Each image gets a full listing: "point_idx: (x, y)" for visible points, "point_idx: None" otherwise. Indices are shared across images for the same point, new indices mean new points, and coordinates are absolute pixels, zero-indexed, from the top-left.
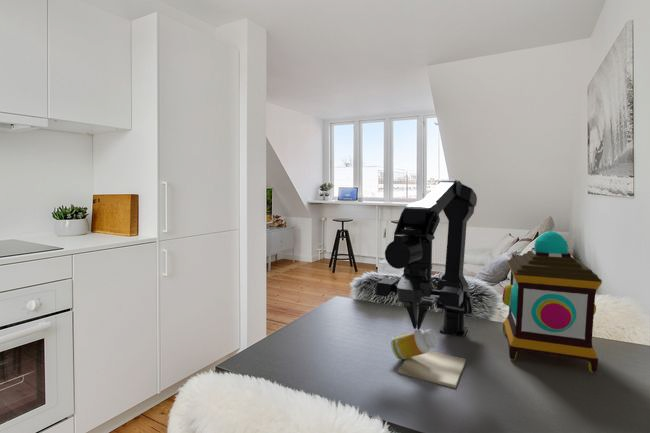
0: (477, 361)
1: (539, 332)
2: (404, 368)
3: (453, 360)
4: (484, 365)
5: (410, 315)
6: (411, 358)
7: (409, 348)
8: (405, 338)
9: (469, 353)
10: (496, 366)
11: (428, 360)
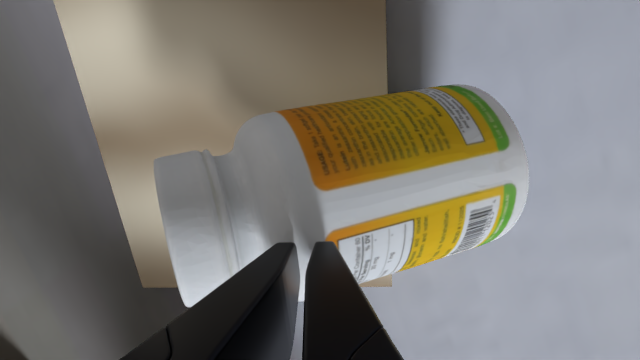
0: (115, 304)
1: None
2: (356, 11)
3: None
4: (79, 284)
5: (361, 325)
6: None
7: (345, 101)
8: (395, 150)
9: None
10: (43, 298)
11: None
